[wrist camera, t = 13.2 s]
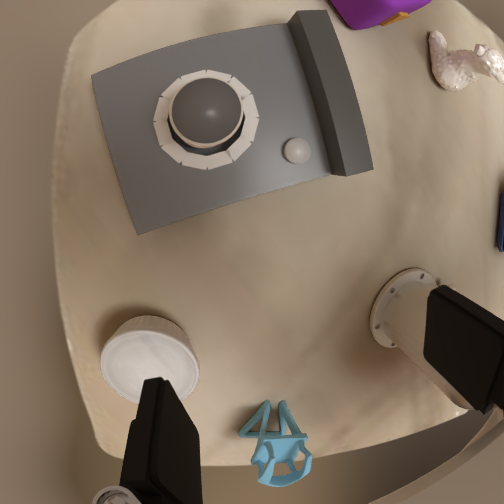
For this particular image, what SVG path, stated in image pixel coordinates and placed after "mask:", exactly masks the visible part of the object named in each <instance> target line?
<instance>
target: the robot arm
mask: <svg viewBox="0 0 504 504" xmlns="http://www.w3.org/2000/svg"><path fill="white" fill-rule="evenodd" d="M370 330H371V334H372V336H373V338H374V339H375V340H376V341H377V342H378V343H379V344H380V345H382V346H384V347H387V348H395V347H398V348H400V349H401V350H402V351H403V352H404V353H405V354H406V355H407V356H408V357H409V358H410V359H411V360H412V361H413V362H414V363H415V364H416V365H417V366H418V367H419V368H420V369H421V370H422V371H423V372H424V373H425V374H426V375H427V376H428V377H429V378H430V379H431V381H432V382H433V383H434V384H435V385H436V386H437V387H438V388H439V389H440V390H441V391H442V392H443V393H444V394H445V395H446V396H447V397H448V398H449V399H450V400H451V401H452V402H453V403H454V404H455V405H457V406H459V407H461V408H464V409H470V410H471V409H475V410H480V411H481V412H482V413H483V414H486V413H487V412H488V411H489V410H491V409H492V408H494V412H493V414H492V415H491V417H490V418H489V419H488V421H487V422H486V424H485V425H484V426H483V428H482V429H481V430H480V431H479V432H478V433H477V434H476V436H475V437H474V438H473V439H472V440H471V441H470V442H469V443H468V445H467V446H466V447H465V448H464V449H463V450H462V451H461V452H460V453H459V454H457V455H456V456H454V457H453V458H451V459H450V460H448V461H447V462H445V463H444V464H442V465H441V466H439V467H437V468H436V469H434V470H433V471H431V472H429V473H428V474H426V475H424V476H422V477H421V478H419V479H417V480H416V481H414V482H412V483H410V484H408V485H406V486H405V487H402V488H400V489H399V490H397V491H395V492H393V493H391V494H388V495H386V496H384V497H382V498H380V499H378V500H375V501H373V502H371V503H369V504H504V321H503V320H502V319H500V318H498V317H497V316H495V315H494V314H492V313H491V312H489V311H487V310H486V309H484V308H483V307H481V306H479V305H478V304H476V303H475V302H473V301H471V300H470V299H468V298H466V297H465V296H463V295H461V294H460V293H458V292H456V287H455V285H454V284H451V285H449V286H446V285H441V286H437V284H436V281H435V279H434V277H433V276H432V275H431V274H430V273H428V272H426V271H425V270H422V269H419V268H412V269H408V270H405V271H403V272H401V273H399V274H398V275H396V276H395V277H393V278H392V279H391V280H390V281H389V282H388V283H387V284H386V285H385V287H384V288H383V289H382V290H381V292H380V293H379V295H378V297H377V298H376V301H375V303H374V305H373V308H372V311H371V315H370ZM92 504H203V500H202V485H201V466H200V441H199V434H198V431H197V429H196V427H195V425H194V423H193V422H192V420H191V418H190V417H189V415H188V413H187V412H186V410H185V408H184V406H183V405H182V403H181V401H180V399H179V398H178V396H177V394H176V392H175V390H174V388H173V387H172V385H171V383H170V381H169V380H164V379H163V378H162V377H156V378H150V379H145V380H144V382H143V387H142V391H141V396H140V400H139V405H138V410H137V415H136V419H134V420H133V421H132V422H131V424H130V429H129V434H128V439H127V444H126V449H125V455H124V460H123V466H122V472H121V478H120V484H119V486H109V487H106V488H104V489H102V490H101V491H100V492H98V493H97V495H96V496H95V497H94V499H93V502H92Z"/></svg>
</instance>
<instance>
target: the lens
mask: <svg viewBox="0 0 504 504" xmlns="http://www.w3.org/2000/svg"><path fill="white" fill-rule="evenodd" d="M169 117H170V122H171V125H172V127H173V129H174V131H175V132H176V134H177V135H178V136H179V137H180V138H181V139H182V140H183V141H184V142H185V143H186V144H187V145H189V146H191V147H193V148H196V149H208V148H212V147H214V146H216V145H218V144H221V143H223V142H225V141H226V140H228V139H229V138H230V137H232V136H233V134H234V133H235V132H236V131H237V129H238V128H239V126H240V124H241V121H242V118H243V103H242V100H241V97H240V95H239V93H238V92H237V91H236V89H235V88H234V87H233V86H232V85H230V84H229V83H228V82H226V81H224V80H222V79H219V78H215V77H200V78H196V79H193V80H191V81H189V82H187V83H185V84H184V85H183V86H181V87H180V88H179V89H178V91H177V92H176V93H175V95H174V97H173V98H172V101H171V104H170V109H169Z"/></svg>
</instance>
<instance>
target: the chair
mask: <svg viewBox="0 0 504 504" xmlns="http://www.w3.org/2000/svg"><path fill="white" fill-rule="evenodd" d="M270 410H271V404H270V401H269V400H266V401H265V402H264V403H263V404H262V406H261V407H260V408H259V410H258V411H257V412H256V413H255V414H254V415H253V416H252V417H251V419H250V420H249V421H248V422H247V423H246V424H245V425H244V426H243V427H242V428H241V430H240V431H239V437H247V438H258V442H257V446H256V449H255V452H254V454H253V456H252V458H251V464H252V465H255V464H257V466H258V469H259V475H258V479H257V481H258V482H259V483H262V484H265V485H269V486H274V487H282V486H287V485H290V484H292V483H294V482H296V481H298V480H299V479H301V478H302V477H304V476H305V475H306V474H308V473H309V471H310V469H311V460H312V457H313V456H312V454H311V453H310V452H309V451H308V450H307V449H306V448H305V446H304V443H305V442H306V440H307V438H308V437H307V434H306V433H304V434H302V433H301V431H300V430H299V428H298V426H297V425H296V423H295V421H294V419H293V417H292V415H291V413H290V411H289V409H288V407H287V404H286V401H281V402H280V404H279V419H280V428H281V431H280V432H266V428H267V423H268V418H269V414H270ZM262 417H263V418H262ZM261 418H262V423H261V428H260V432H248V431H249V430H250V429H251V428H252V427H253V426H254V425H255V424H256V423H257V422H258V421H259V420H260V419H261ZM286 422H287V424H288V426H289V428H290V430H291V433H292V435H286ZM299 451H301V452H303V453H304V454H305V461H304V465H303V468H302V469H301V470H300V471H296V469H295V466H294V464H293V461H294V460H295V458H296V456H297V454H298V452H299ZM275 463H288V466H289V468H290V470H291V471H292V473H291V474H287V475H283V476H272V474H273V469H274V464H275ZM263 464H266V466H265V468H264V465H263Z"/></svg>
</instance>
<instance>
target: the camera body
mask: <svg viewBox="0 0 504 504" xmlns="http://www.w3.org/2000/svg"><path fill="white" fill-rule="evenodd" d="M200 77H215V78H219V79H222V80H224V81H226V82H228V83H229V84H230V85H232V86H233V87H234V88H235V89H236V91H237V92H238V93H239V95H240V97H241V100H242V103H243V118H242V121H241V124H240V126H239V128H238V129H237V131H236V132H235V133H234V134H233V136H232V137H230V138H229V139H228V140H226V141H225V142H223V143H221V144H218V145H216V146H214V147H212V148H208V149H196V148H193V147H191V146H189V145H187V144H186V143H185V142H184V141H183V140H182V139H181V138H180V137H179V136H178V135H177V134H176V132H175V131H174V129H173V127H172V125H171V122H170V117H169V109H170V104H171V101H172V98H173V97H174V95H175V93H176V92H177V91H178V89H179V88H180V87H181V86H183V85H184V84H185V83H187V82H189V81H191V80H193V79H196V78H200ZM91 79H92V84H93V88H94V93H95V97H96V102H97V106H98V110H99V114H100V118H101V122H102V126H103V129H104V133H105V137H106V140H107V144H108V147H109V151H110V154H111V158H112V161H113V164H114V168H115V171H116V174H117V177H118V180H119V183H120V187H121V190H122V193H123V196H124V199H125V201H126V204H127V207H128V210H129V213H130V216H131V219H132V221H133V224H134V227H135V230H136V232H137V235H140V234H143V233H146V232H148V231H151V230H154V229H157V228H160V227H163V226H165V225H168V224H171V223H174V222H177V221H180V220H183V219H186V218H189V217H192V216H195V215H198V214H201V213H204V212H207V211H210V210H213V209H216V208H219V207H222V206H225V205H229V204H232V203H235V202H238V201H241V200H245V199H248V198H251V197H254V196H258V195H261V194H264V193H268V192H271V191H275V190H278V189H281V188H285V187H288V186H292V185H295V184H299V183H302V182H306V181H310V180H313V179H317V178H321V177H324V176H328V175H339V176H346V177H347V176H350V175H354V174H358V173H362V172H366V171H370V170H374V168H373V163H372V158H371V153H370V149H369V144H368V140H367V136H366V131H365V127H364V123H363V119H362V115H361V111H360V108H359V104H358V100H357V97H356V93H355V90H354V86H353V83H352V80H351V76H350V73H349V70H348V67H347V64H346V61H345V58H344V55H343V52H342V49H341V46H340V44H339V41H338V38H337V35H336V33H335V30H334V28H333V25H332V22H331V20H330V17H329V15H328V12H327V10H304V11H296V13H295V14H294V15H293V16H292V18H291V19H290V20H289V22H288V23H286V24H276V25H267V26H260V27H253V28H246V29H240V30H235V31H229V32H224V33H219V34H214V35H210V36H205V37H201V38H197V39H193V40H189V41H185V42H182V43H178V44H175V45H171V46H168V47H165V48H161V49H158V50H155V51H152V52H149V53H146V54H143V55H140V56H138V57H135V58H132V59H130V60H127V61H124V62H122V63H119V64H117V65H114V66H112V67H109V68H107V69H105V70H102V71H100V72H98V73H96V74H93V75H91Z"/></svg>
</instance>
